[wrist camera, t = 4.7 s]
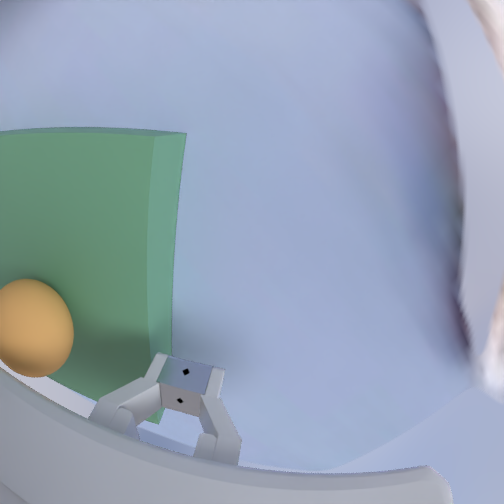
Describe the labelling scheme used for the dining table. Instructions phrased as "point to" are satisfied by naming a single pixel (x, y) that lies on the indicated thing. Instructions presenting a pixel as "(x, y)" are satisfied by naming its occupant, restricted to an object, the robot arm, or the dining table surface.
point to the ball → (34, 328)
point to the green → (96, 241)
